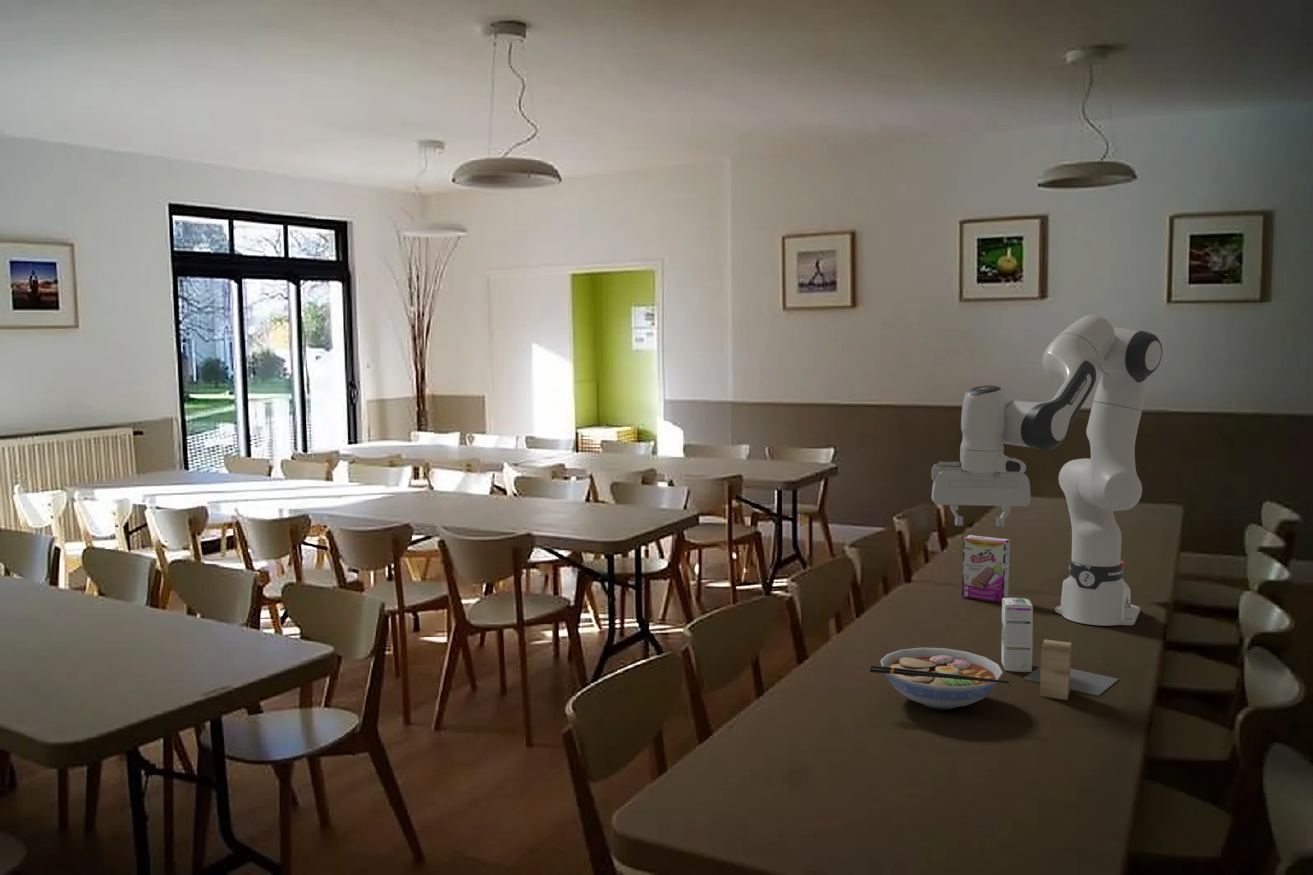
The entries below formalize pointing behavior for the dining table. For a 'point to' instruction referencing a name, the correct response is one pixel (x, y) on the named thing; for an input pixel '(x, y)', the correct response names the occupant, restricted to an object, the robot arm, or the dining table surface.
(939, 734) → the dining table surface
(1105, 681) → the rubber mat
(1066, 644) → the oak block
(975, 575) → the candy bar box
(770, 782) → the dining table surface
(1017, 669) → the syrup box
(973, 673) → the ramen bowl
